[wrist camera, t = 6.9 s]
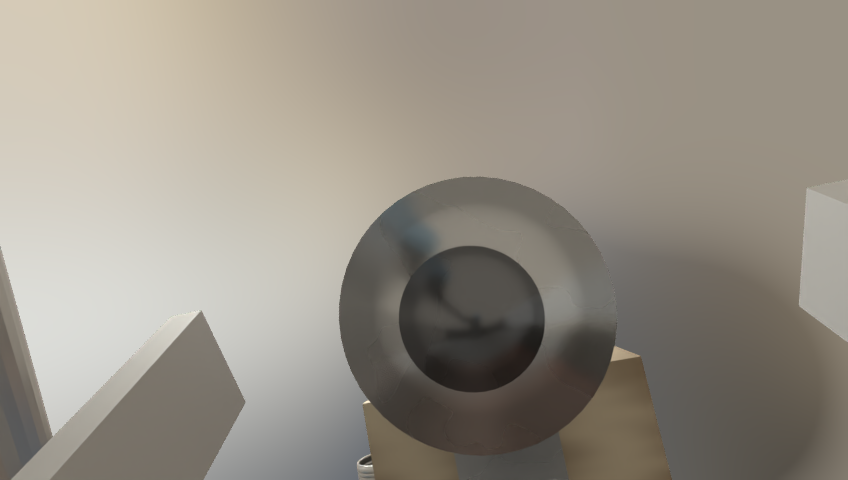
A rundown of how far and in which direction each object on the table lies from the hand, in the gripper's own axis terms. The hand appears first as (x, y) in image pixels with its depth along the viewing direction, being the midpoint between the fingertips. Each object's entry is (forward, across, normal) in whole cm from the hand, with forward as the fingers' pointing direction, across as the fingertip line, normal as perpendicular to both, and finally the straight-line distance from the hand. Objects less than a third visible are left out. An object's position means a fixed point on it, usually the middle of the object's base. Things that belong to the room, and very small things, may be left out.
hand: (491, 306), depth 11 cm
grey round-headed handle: (+5, 0, -8) cm, 9 cm away
